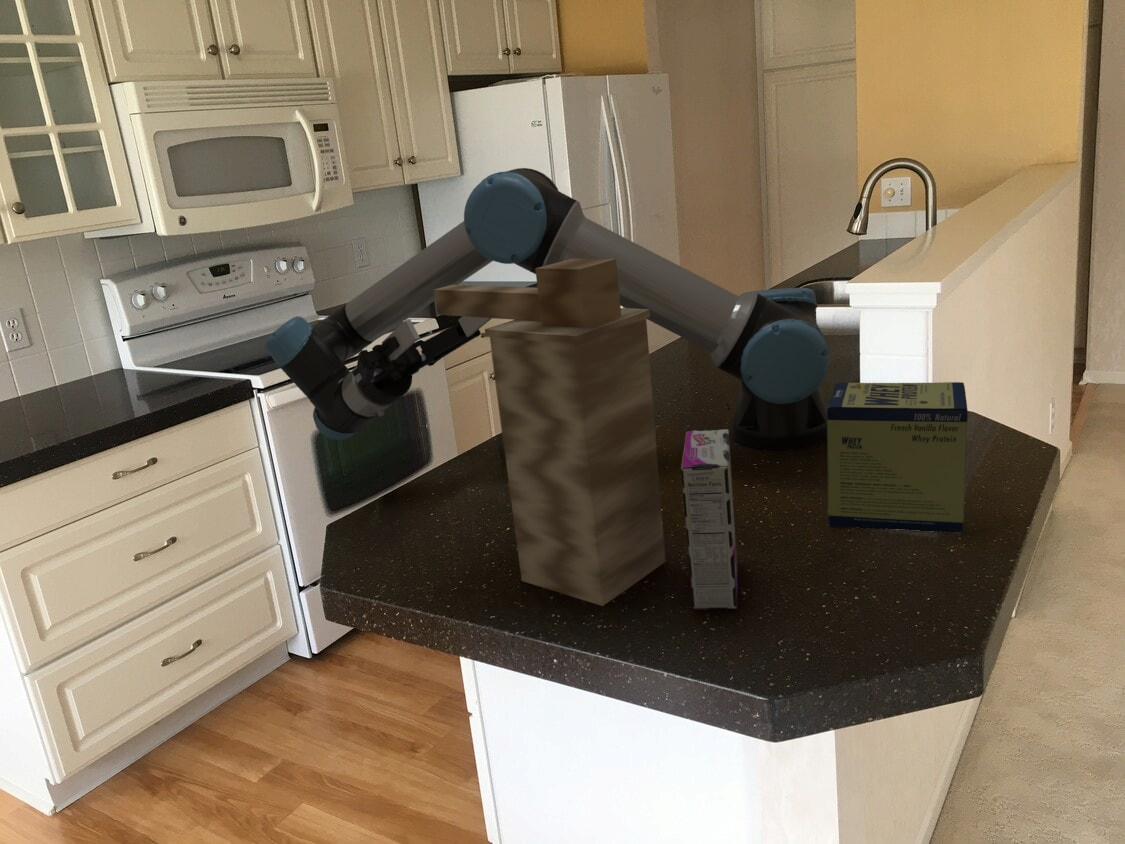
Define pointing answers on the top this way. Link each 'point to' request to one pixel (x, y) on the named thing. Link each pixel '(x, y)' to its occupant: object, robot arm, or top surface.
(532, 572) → the block
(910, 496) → the protein box
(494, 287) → the mallet
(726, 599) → the candy bar box
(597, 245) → the robot arm
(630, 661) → the top surface
